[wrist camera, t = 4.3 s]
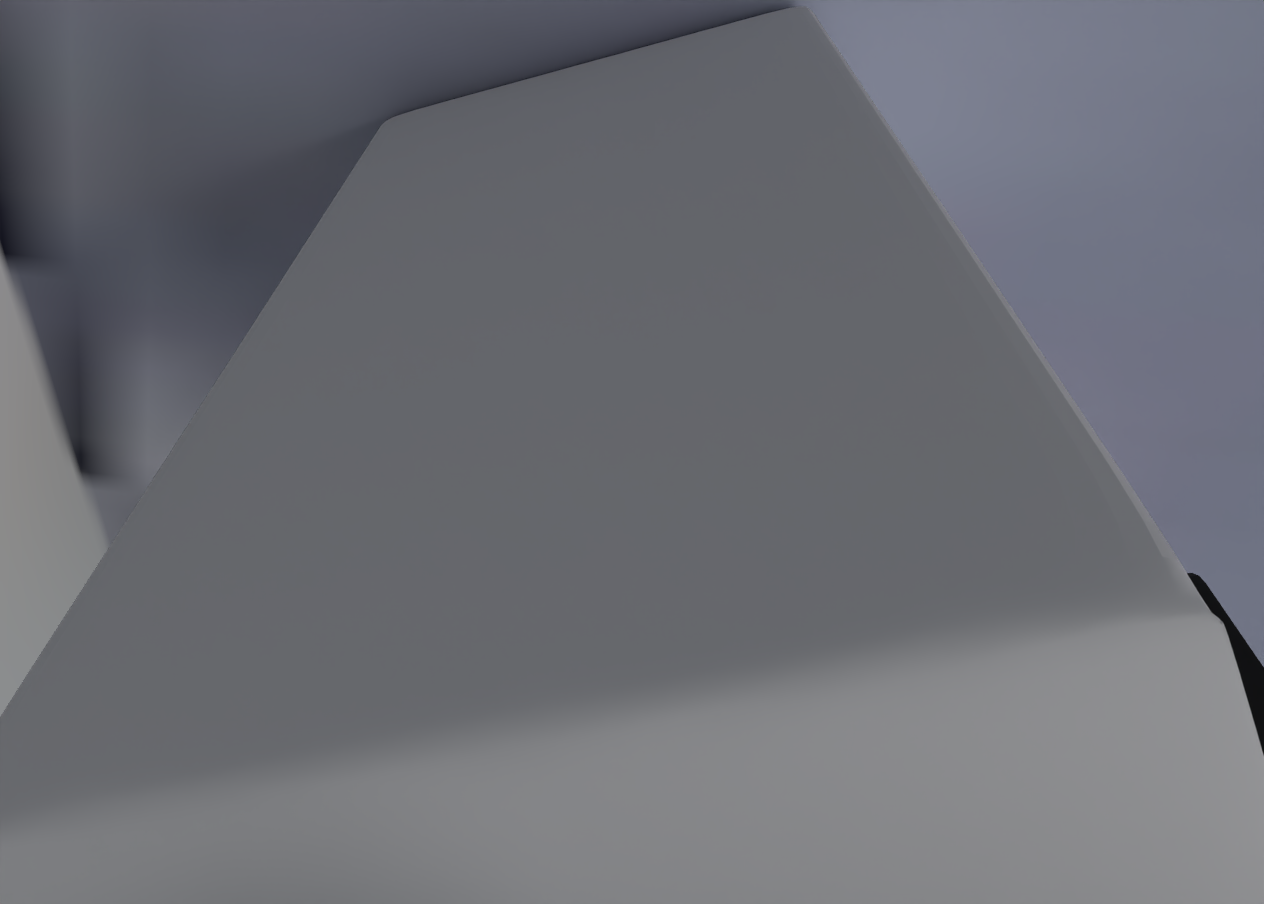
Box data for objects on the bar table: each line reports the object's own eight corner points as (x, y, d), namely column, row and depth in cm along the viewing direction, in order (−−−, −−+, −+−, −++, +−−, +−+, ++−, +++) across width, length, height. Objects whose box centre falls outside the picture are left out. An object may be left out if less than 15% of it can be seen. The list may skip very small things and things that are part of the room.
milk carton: (876, 387, 22) (1587, 2244, 6) (513, 469, 23) (230, 2268, 7) (807, -2, 18) (2192, 2006, 2) (381, 115, 19) (-957, 2137, 3)
